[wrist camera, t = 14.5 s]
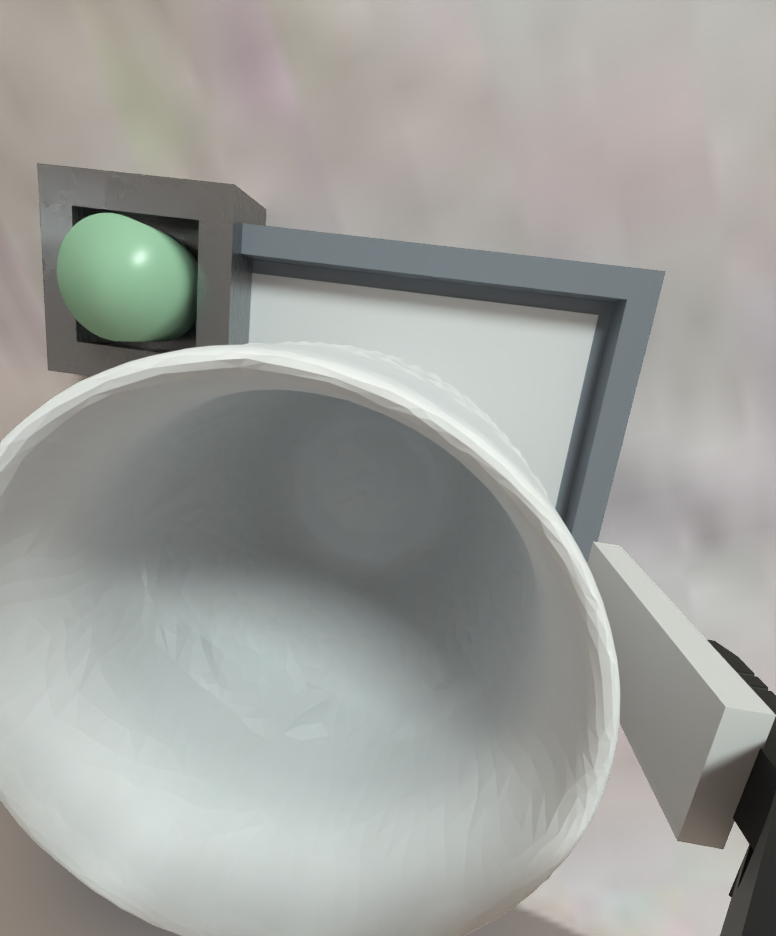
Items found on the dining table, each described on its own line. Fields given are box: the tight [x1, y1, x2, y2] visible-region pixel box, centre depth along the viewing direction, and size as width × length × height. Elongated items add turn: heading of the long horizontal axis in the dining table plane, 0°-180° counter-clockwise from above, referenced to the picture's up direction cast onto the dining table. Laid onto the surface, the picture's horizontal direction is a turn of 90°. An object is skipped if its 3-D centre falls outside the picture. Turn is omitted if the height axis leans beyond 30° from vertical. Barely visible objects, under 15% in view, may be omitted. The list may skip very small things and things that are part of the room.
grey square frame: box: [37, 163, 266, 376], centre depth 19 cm, size 7×7×3 cm
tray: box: [241, 223, 665, 563], centre depth 20 cm, size 16×19×2 cm
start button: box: [57, 213, 198, 342], centre depth 17 cm, size 4×4×2 cm
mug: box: [0, 341, 620, 936], centre depth 14 cm, size 15×11×13 cm
